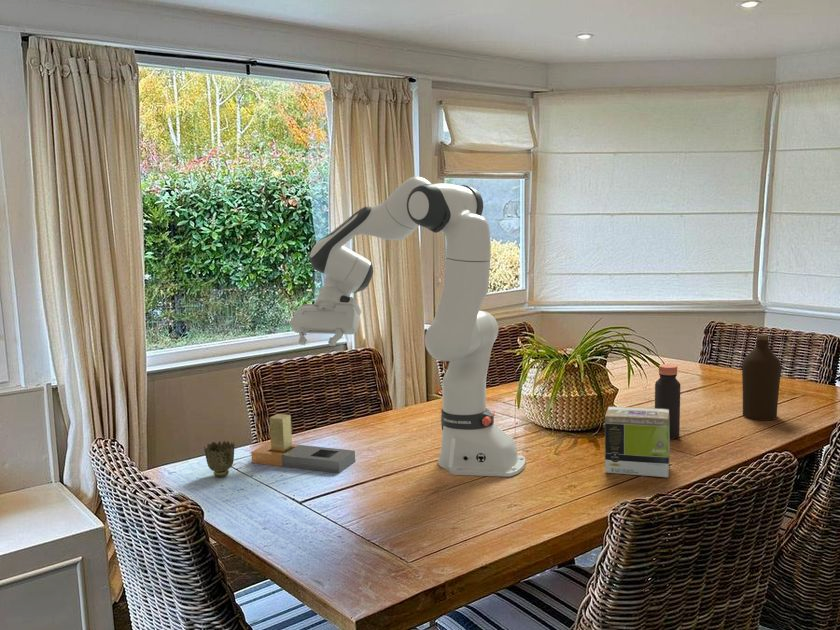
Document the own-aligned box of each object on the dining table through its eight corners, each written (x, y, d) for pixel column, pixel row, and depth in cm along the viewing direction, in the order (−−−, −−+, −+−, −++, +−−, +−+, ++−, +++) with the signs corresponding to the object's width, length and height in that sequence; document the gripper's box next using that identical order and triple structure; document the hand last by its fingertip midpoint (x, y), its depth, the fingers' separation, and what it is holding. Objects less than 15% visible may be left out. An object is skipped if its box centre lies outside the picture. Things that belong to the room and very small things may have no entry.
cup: (228, 481, 187) (226, 450, 186) (200, 480, 189) (198, 449, 187) (241, 471, 194) (239, 441, 193) (214, 469, 196) (212, 440, 195)
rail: (355, 461, 199) (354, 450, 199) (339, 473, 191) (338, 461, 190) (270, 452, 209) (270, 441, 208) (251, 462, 200) (251, 452, 200)
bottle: (667, 430, 218) (668, 362, 215) (684, 436, 212) (686, 366, 209) (648, 434, 215) (650, 365, 212) (666, 440, 209) (667, 369, 206)
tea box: (669, 465, 190) (670, 407, 188) (668, 479, 180) (669, 419, 178) (607, 460, 195) (608, 404, 192) (603, 473, 185) (604, 415, 183)
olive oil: (755, 422, 222) (758, 338, 219) (733, 413, 233) (735, 333, 229) (786, 419, 225) (790, 336, 221) (763, 410, 235) (766, 330, 231)
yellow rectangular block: (292, 458, 203) (290, 414, 201) (285, 463, 200) (282, 418, 198) (280, 456, 205) (277, 413, 203) (271, 461, 201) (269, 417, 199)
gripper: (295, 297, 220) (279, 336, 212) (358, 298, 212) (344, 338, 205) (304, 310, 224) (288, 349, 217) (366, 311, 217) (352, 351, 209)
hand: (316, 344), depth 211 cm, fingers open, 8 cm apart
